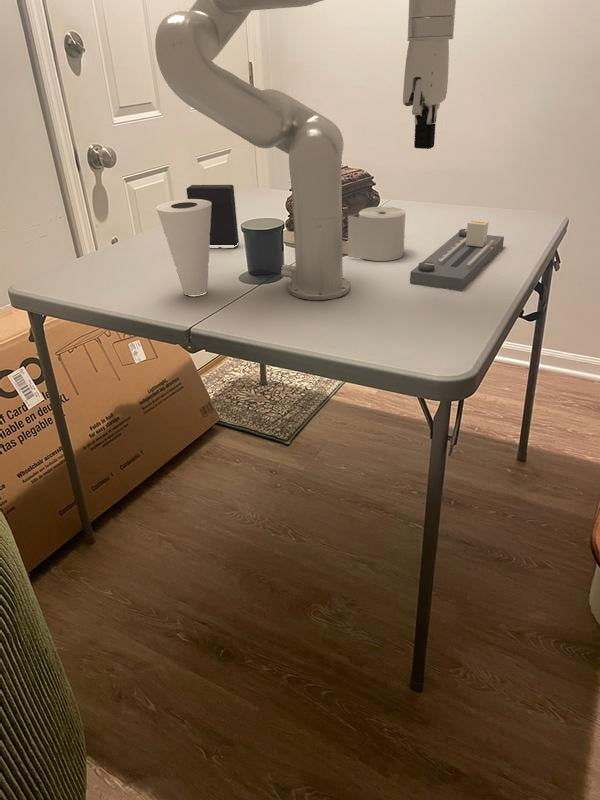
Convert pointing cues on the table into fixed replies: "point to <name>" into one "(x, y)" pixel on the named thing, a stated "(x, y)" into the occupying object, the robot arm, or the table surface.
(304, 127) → the robot arm
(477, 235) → the fader
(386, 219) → the toilet tissue
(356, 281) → the table surface
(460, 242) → the console
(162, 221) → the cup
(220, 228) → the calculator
